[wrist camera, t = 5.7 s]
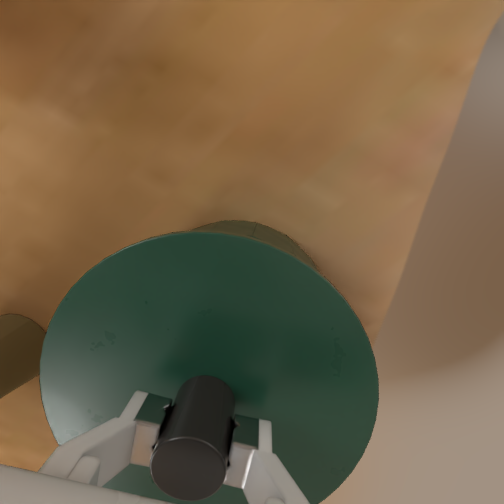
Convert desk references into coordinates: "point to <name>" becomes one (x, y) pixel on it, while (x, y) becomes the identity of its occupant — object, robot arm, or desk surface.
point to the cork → (19, 351)
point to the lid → (213, 362)
